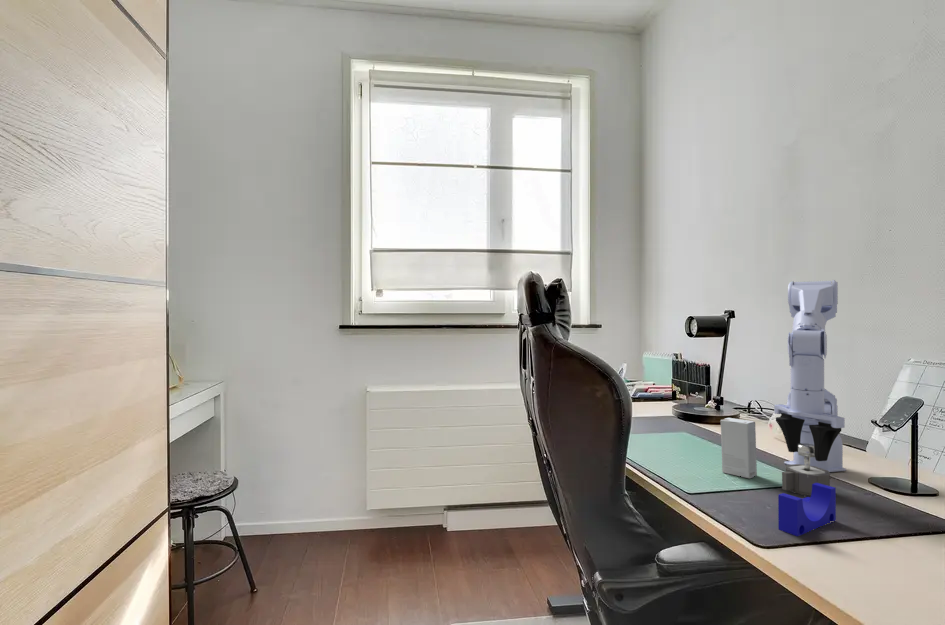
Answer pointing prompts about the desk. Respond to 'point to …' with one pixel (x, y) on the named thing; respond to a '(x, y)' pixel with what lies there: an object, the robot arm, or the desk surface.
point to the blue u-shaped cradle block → (807, 510)
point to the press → (803, 478)
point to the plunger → (806, 453)
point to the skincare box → (738, 447)
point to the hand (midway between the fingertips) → (807, 455)
